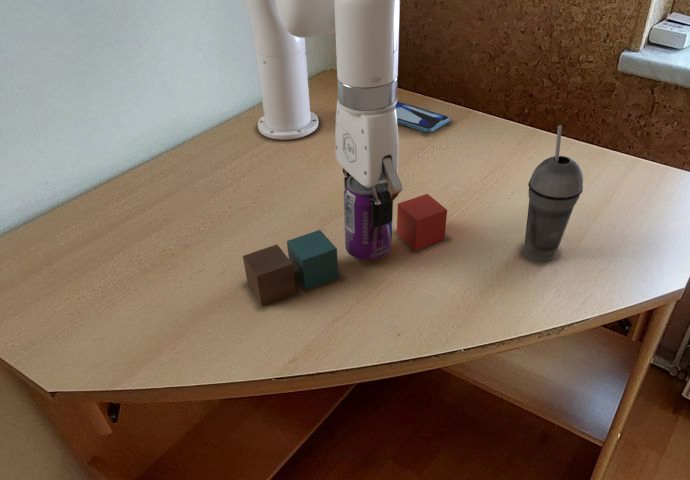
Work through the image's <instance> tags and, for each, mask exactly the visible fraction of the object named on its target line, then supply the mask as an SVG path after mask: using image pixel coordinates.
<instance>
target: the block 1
mask: <svg viewBox="0 0 690 480" xmlns="http://www.w3.org/2000/svg"><path fill="white" fill-rule="evenodd" d="M242 260H243V266H244V271H245V276H246V281H247V286H248V287H249V289H250V291H251V293H253V295H254V297H255V298H256V299H257V301H258V303H259V304H260V305H261V306H262V307H264V306H266V305H269V304H272V303H275V302H276V301H279V300H282V299H285V298H288V297H291V296H293V295H296V294H297V289H296V283H295V282H296V281H295V276H294V272H293V264H292V263H291V261H290V260H289V256H287V255H286V254H285V252H284V251H283V249H282V248H281V247H280V246H279V244H274V245H271V246H268V247H265V248H261V249H259V250H256V251H253V252H250V253H247V254H244V255H242Z"/></svg>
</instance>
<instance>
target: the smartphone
mask: <svg viewBox="0 0 690 480" xmlns="http://www.w3.org/2000/svg"><path fill="white" fill-rule="evenodd" d="M395 108H396V116H397V124H399V125H403V126H406V127H409V128H411V129H415V130H418V131H421V132H423V133H432V132H434V131H435V130H438V129H439V128H441V127H442V126H444V125H445V124H447V123H449V122H450V117H449V116H448V115H447V114H446V115H445V114H442V113H440V112H436V111H432V110H430V109H426V108H422V107H419V106H416V105H412V104H410V103H405V102H403V101H399V100H397V103H396V105H395Z"/></svg>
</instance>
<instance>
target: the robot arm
mask: <svg viewBox="0 0 690 480" xmlns="http://www.w3.org/2000/svg"><path fill="white" fill-rule="evenodd" d="M245 2H246V4H247V9H248V12H249V17H250V23H251V27H252V34H253V41H254V49H255V55H256V61H257V62H256V64H257V71H258V77H259V85H260V95H261V100H262V101H261V102H262V108H263V109H262V110H263V115H262V116H261V117H260V118H259V119H258V121H257V129H258V131H259V133H260V134H261V135H263V136H264V137H266V138H268V139H272V140H277V141H278V140H280V141H288V140H297V139H300V138H304V137H306V136H308V135H310V134H313V133H314V132H315V131H316V130H317V129H318V128H319V117H318V115H317V114H316V113H315V112H314V111H311V104H310V89H309V77H308V76H309V75H308V63H307V50H306V48H307V47H306V38H312V37H318V36H323V35H329V34H333V33H335V53H336V55H335V56H336V77H337V78H336V79H337V81H336V82H337V102H336V111H335V127H334V128H335V130H334V131H335V132H334V133H335V134H334V136H335V137H334V138H335V139H334V140H335V141H334V142H335V143H334V145H335V147H334V148H335V159H336V161H337V163H338V164H339V165H340V167H341V168H342V174H343V176H344V177H343V181H344V189H345V188H346V186H347V179H348V177H349V176H350V175H351V176H352V177H354V178H355V179H356V180H357V181H358V182H359V183H360V184H362V185H363V186H365V187H367V188H371V190H372V195H373V199H374V202H372V203H371V226H372V227H373V228H377V227H380V226H382V225H385V224H388V223H391V222H392V223H393V218H394V217H393V216H394V215H393V212H394V211H393V210H394V201H395V200H396V198H397V197H398V196H399V194H400V193H401V192H402V191H403V184H402V182H401V180H400V177H399V175H398V172H399V157H400V156H399V155H400V152H399V127H398V123H397V116H396V108H395V105H396V103H397V101H398V80H399V79H398V77H399V49H400V48H399V46H400V45H399V44H400V13H401V12H400V10H401V0H245ZM381 174H384V177H385V178H382V179H379V178H380V175H381ZM384 183H385V186H386V191H384V192H382V193H381V194H380V193H379V189H378V185H381V184H384Z"/></svg>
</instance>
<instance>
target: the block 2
mask: <svg viewBox="0 0 690 480" xmlns="http://www.w3.org/2000/svg"><path fill="white" fill-rule="evenodd" d="M286 246H287V254H288V256H287V257H288V259H289V260H290V261H291V263H292V264H293V272H294V278H295V279H296V280H297V281H298V283H299V284H300V285H301V286H302V288H303V289H304V290H305V291H308V290H310V289H313V288H316V287H318V286H321V285H324V284H327V283H330V282H332V281H335V280H338V279H339V263H338V247H336V246H335V245H334V243H333V242H332V241H331V240H330V239H329V238H328V237H327V235H325V234H324V233H323V231H322V230H321V229H317V230H315V231H311V232H309V233H306V234H303V235H300V236H297V237H294V238H291V239H288V240H286Z"/></svg>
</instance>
